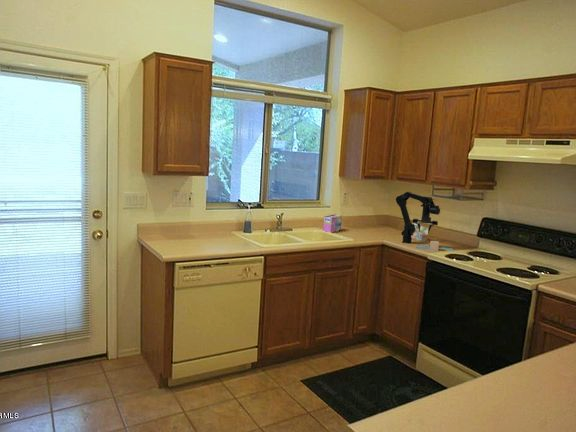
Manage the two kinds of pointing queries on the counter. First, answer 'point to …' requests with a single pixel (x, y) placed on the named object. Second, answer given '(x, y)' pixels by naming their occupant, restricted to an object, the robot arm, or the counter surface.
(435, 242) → the terracotta block
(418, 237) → the stack of blocks
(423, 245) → the card
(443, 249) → the teal pad
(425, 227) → the maple block
